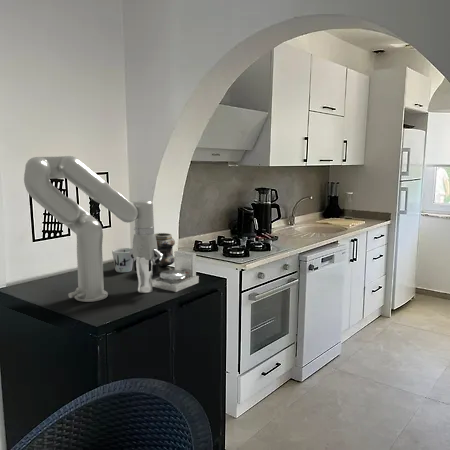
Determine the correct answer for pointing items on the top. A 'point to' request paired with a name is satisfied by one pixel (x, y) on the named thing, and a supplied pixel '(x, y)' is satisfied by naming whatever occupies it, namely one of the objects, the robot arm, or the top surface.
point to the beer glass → (144, 274)
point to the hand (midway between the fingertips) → (146, 271)
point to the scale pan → (172, 274)
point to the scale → (182, 262)
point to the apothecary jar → (165, 250)
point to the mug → (122, 259)
